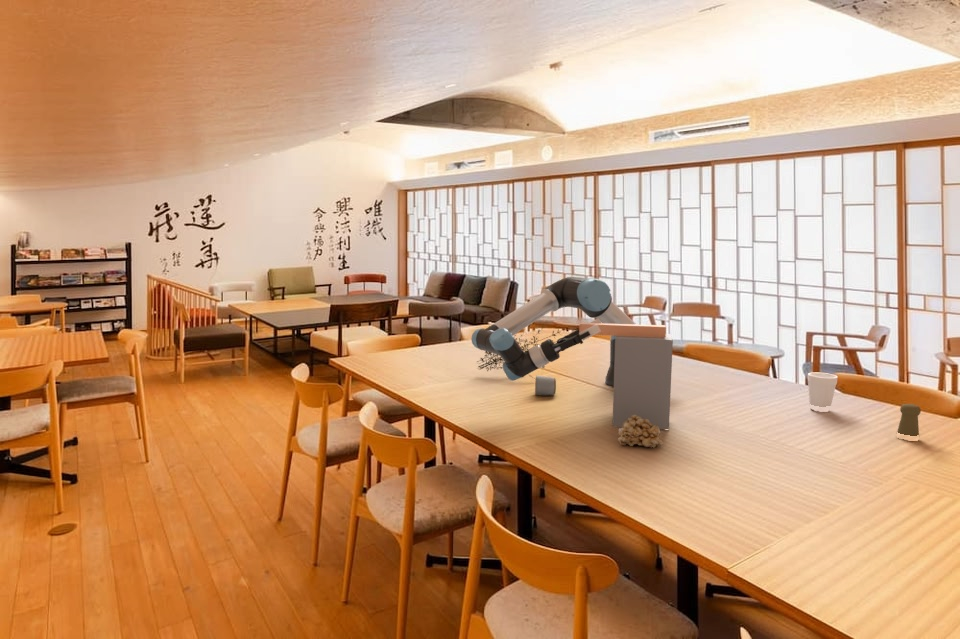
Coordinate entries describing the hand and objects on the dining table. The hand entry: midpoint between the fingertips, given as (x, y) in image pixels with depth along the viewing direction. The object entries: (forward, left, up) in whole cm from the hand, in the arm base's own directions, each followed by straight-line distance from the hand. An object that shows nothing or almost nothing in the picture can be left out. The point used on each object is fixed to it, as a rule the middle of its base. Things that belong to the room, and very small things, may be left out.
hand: (599, 324), depth 206 cm
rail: (-5, +6, -3) cm, 8 cm away
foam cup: (-74, +40, -33) cm, 91 cm away
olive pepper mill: (-64, +71, -33) cm, 101 cm away
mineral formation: (+6, +24, -34) cm, 42 cm away
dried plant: (-21, -64, -34) cm, 76 cm away
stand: (-9, +11, -33) cm, 36 cm away
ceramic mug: (-8, -36, -34) cm, 50 cm away
